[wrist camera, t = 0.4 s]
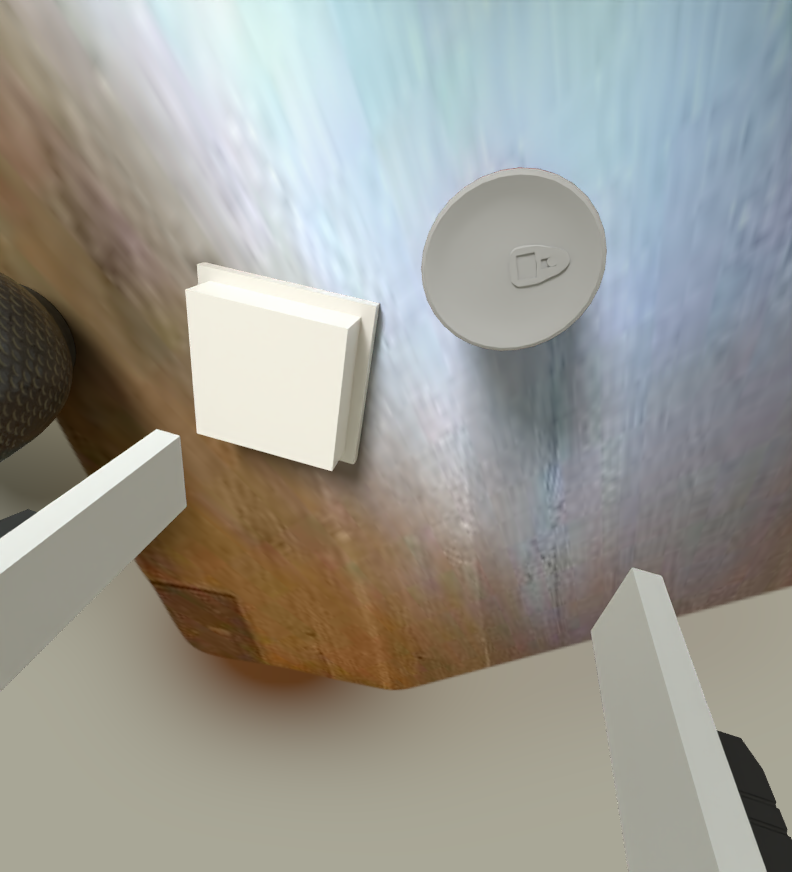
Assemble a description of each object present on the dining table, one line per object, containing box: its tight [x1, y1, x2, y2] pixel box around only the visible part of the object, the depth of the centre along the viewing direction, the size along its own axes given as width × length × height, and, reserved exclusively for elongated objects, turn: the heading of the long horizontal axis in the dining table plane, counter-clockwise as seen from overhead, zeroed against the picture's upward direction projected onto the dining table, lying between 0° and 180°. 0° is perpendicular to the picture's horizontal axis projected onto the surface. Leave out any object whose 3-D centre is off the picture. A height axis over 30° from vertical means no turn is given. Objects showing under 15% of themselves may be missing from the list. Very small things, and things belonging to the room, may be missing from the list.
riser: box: [185, 262, 380, 471], centre depth 36 cm, size 14×14×4 cm
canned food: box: [421, 168, 607, 351], centre depth 25 cm, size 8×8×11 cm
